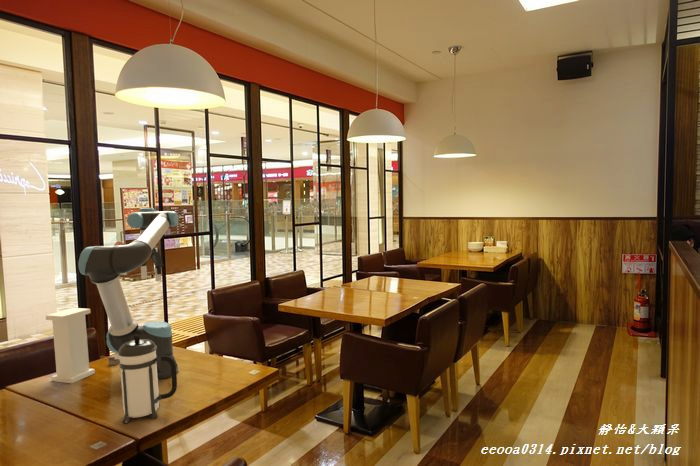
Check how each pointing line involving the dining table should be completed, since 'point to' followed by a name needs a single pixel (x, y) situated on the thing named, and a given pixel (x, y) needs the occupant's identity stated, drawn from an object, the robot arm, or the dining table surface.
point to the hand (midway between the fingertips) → (151, 279)
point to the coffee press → (142, 378)
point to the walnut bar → (113, 360)
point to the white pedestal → (70, 345)
